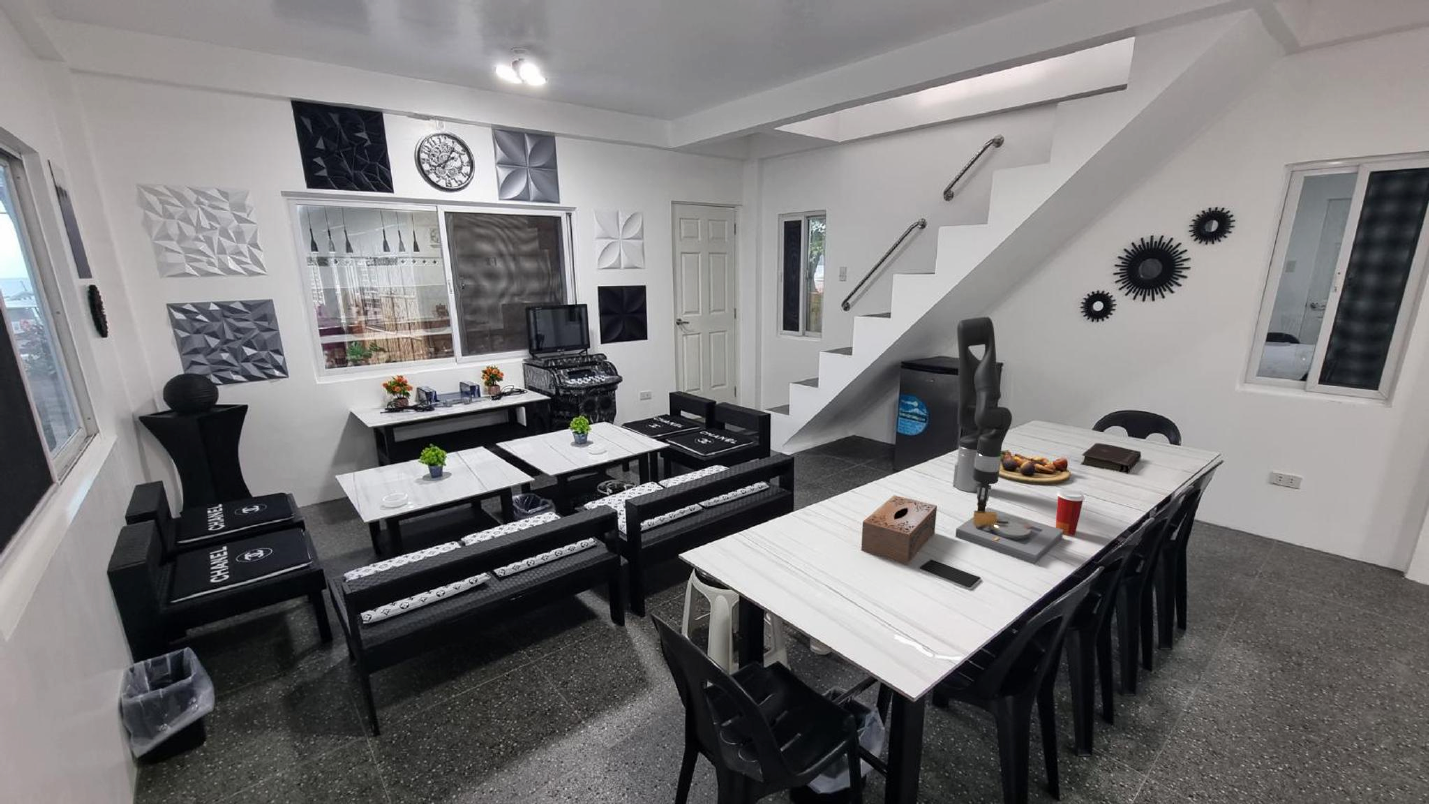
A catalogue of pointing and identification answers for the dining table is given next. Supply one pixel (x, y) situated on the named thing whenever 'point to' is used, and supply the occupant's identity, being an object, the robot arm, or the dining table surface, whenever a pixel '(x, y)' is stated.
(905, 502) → the tissue box cover
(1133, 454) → the diary
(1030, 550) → the panel
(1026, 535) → the dial
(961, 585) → the smartphone
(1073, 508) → the paper cup
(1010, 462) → the wooden plate with food
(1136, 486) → the dining table surface
